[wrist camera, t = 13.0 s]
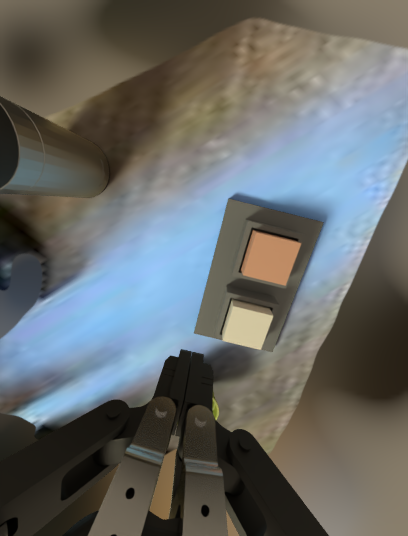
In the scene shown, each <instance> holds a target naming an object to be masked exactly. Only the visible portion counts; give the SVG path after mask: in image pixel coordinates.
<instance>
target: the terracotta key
mask: <svg viewBox="0 0 408 536" xmlns="http://www.w3.org/2000/svg"><path fill="white" fill-rule="evenodd" d="M300 246H301V243H299V242H297V241H295V240H291V239H287V238H283V237H279V236H275V235H271V234H267V233H263V232H259V231H255V230H253V231H252V234H251V238H250V241H249V244H248V248H247V251H246V254H245V258H244V261H243V264H242V268H241V271H242V274H243V275H244V276H248V277H252V278H256V279H260V280H264V281H268V282H272V283H277V284H281V285H285V286H286V283H287V280H288V278H289V275H290V272H291V270H292V267H293V265H294V262H295V259H296V257H297V254H298V251H299V249H300Z"/></svg>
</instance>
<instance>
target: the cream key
mask: <svg viewBox="0 0 408 536" xmlns="http://www.w3.org/2000/svg"><path fill="white" fill-rule="evenodd" d="M272 319H273V314H272V312H271V310H270V308H269V307H266V306H262V305H258V304H254V303H249V302H245V301H241V300H237V299H233V298H232V300H231V303H230V306H229V310H228V313H227V316H226V320H225V323H224V326H223V330H222V338H223V341H226V342H230V343H234V344H238V345H242V346H246V347H251V348H255V349H259V350H261V348H262V345H263V343H264V340H265V337H266V335H267V332H268V329H269V327H270V324H271V321H272Z"/></svg>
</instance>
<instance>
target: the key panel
mask: <svg viewBox="0 0 408 536" xmlns="http://www.w3.org/2000/svg"><path fill="white" fill-rule="evenodd" d="M323 223H324V222H321V221H317V220H313V219H308V218H304V217H300V216H296V215H292V214H288V213H284V212H280V211H276V210H272V209H268V208H264V207H260V206H256V205H252V204H248V203H244V202H240V201H236V200H232V199H228V202H227V206H226V210H225V213H224V217H223V221H222V225H221V229H220V233H219V237H218V241H217V245H216V248H215V252H214V256H213V260H212V264H211V268H210V272H209V276H208V280H207V283H206V287H205V291H204V295H203V299H202V303H201V307H200V311H199V315H198V318H197V322H196V326H195V331H194V333H195V334H199V335H203V336H207V337H211V338H216V339H220V340H223V338H222V330H223V326H224V323H225V320H226V316H227V313H228V310H229V306H230V303H231V300H232V298H233V299H237V300H241V301H245V302H249V303H254V304H258V305H262V306H266V307H269V308H270V310H271V312H272V314H273V319H272V321H271V324H270V327H269V329H268V332H267V335H266V337H265V340H264V343H263V345H262V348H261V350H266V351H270V352H273V349H274V347H275V344H276V342H277V339H278V337H279V334H280V332H281V329H282V327H283V324H284V322H285V319H286V316H287V314H288V311H289V309H290V306H291V304H292V301H293V299H294V296H295V294H296V291H297V289H298V286H299V284H300V281H301V279H302V276H303V274H304V271H305V268H306V266H307V263H308V261H309V258H310V256H311V253H312V251H313V248H314V246H315V243H316V241H317V238H318V236H319V233H320V231H321V228H322V226H323ZM253 230H255V231H259V232H263V233H267V234H271V235H275V236H279V237H283V238H287V239H291V240H295V241H297V242H299V243H301V246H300V249H299V251H298V254H297V257H296V259H295V262H294V265H293V267H292V270H291V272H290V275H289V278H288V280H287V283H286V286H285V285H281V284H277V283H272V282H268V281H264V280H260V279H256V278H252V277H248V276H244V275H243V274H242V271H241V268H242V264H243V261H244V258H245V254H246V251H247V248H248V244H249V241H250V238H251V234H252V231H253Z"/></svg>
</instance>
